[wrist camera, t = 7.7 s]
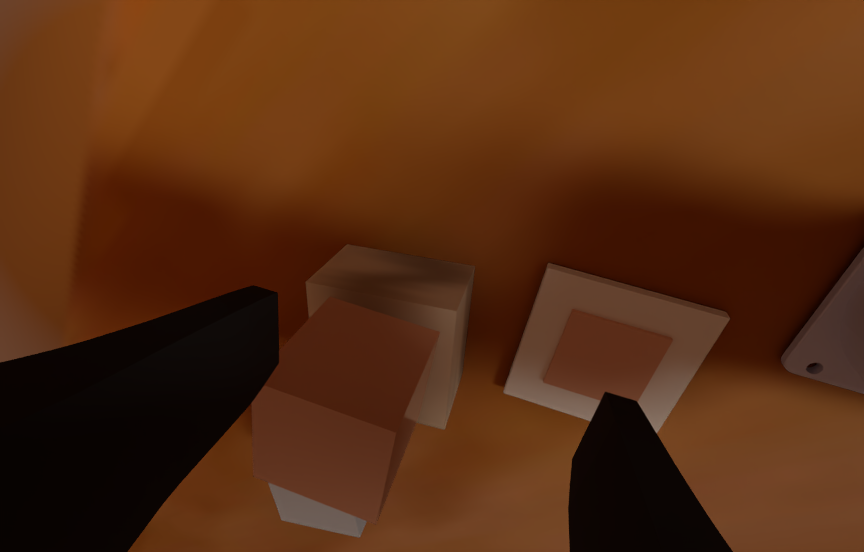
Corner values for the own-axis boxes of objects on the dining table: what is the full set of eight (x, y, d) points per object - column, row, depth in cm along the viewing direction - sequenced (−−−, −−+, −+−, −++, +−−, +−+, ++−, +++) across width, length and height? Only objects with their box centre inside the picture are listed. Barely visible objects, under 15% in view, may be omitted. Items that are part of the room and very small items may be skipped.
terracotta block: (419, 415, 19) (376, 524, 14) (322, 380, 19) (253, 476, 15) (440, 331, 16) (396, 432, 12) (329, 296, 17) (251, 380, 13)
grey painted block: (383, 400, 24) (345, 476, 20) (392, 457, 26) (359, 537, 22) (311, 390, 26) (260, 460, 21) (325, 446, 28) (281, 520, 23)
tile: (726, 312, 17) (732, 321, 16) (650, 432, 21) (652, 444, 20) (548, 262, 18) (547, 269, 17) (504, 385, 22) (502, 395, 21)
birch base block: (475, 263, 19) (456, 311, 16) (463, 370, 22) (444, 429, 19) (349, 242, 20) (305, 281, 17) (352, 345, 23) (316, 397, 20)
